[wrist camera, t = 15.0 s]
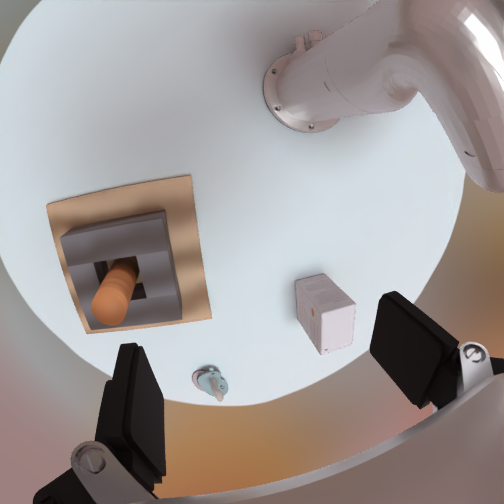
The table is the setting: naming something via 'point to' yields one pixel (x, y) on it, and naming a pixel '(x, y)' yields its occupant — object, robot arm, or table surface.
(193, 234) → the socket
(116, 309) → the peg
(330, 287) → the small box
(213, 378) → the pacifier
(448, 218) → the table surface
